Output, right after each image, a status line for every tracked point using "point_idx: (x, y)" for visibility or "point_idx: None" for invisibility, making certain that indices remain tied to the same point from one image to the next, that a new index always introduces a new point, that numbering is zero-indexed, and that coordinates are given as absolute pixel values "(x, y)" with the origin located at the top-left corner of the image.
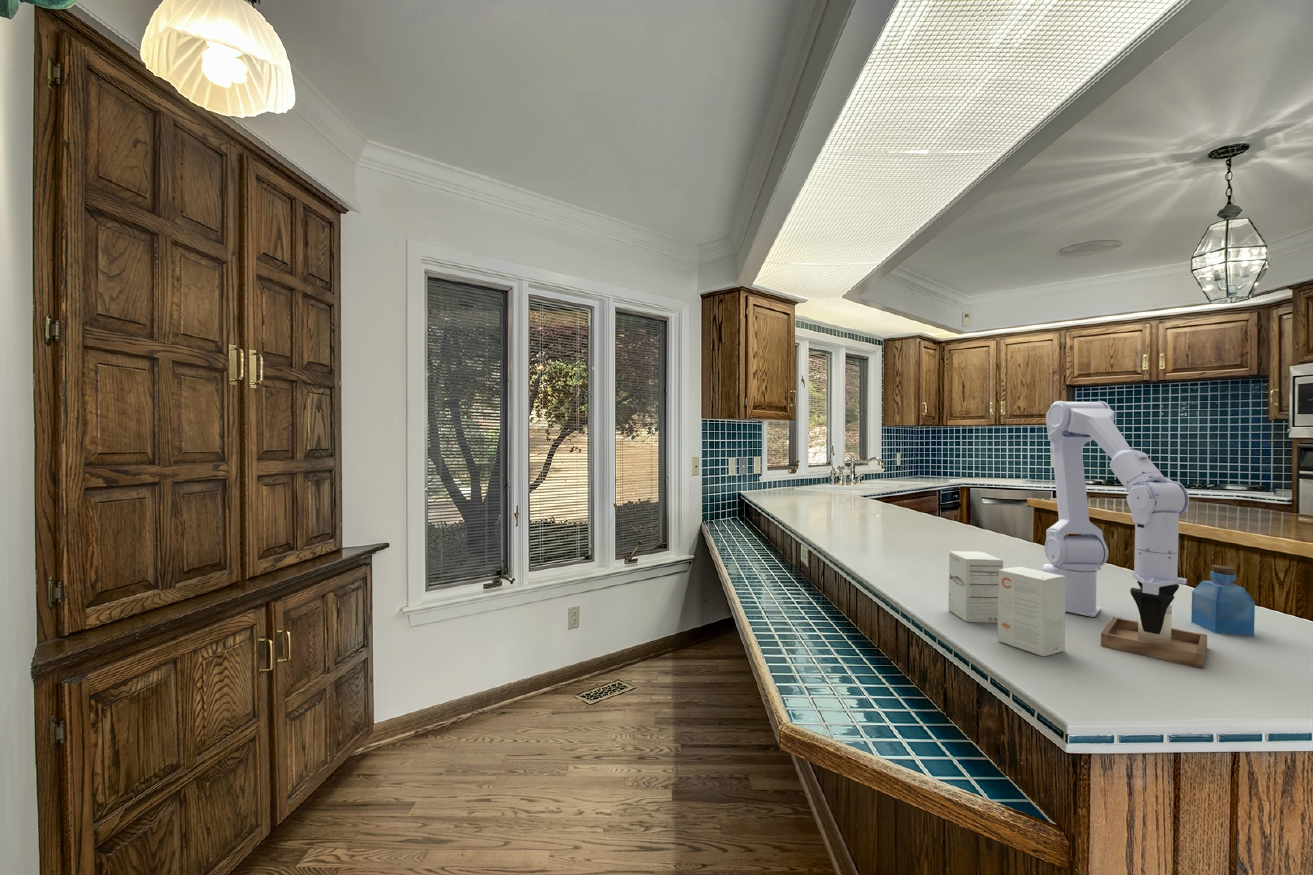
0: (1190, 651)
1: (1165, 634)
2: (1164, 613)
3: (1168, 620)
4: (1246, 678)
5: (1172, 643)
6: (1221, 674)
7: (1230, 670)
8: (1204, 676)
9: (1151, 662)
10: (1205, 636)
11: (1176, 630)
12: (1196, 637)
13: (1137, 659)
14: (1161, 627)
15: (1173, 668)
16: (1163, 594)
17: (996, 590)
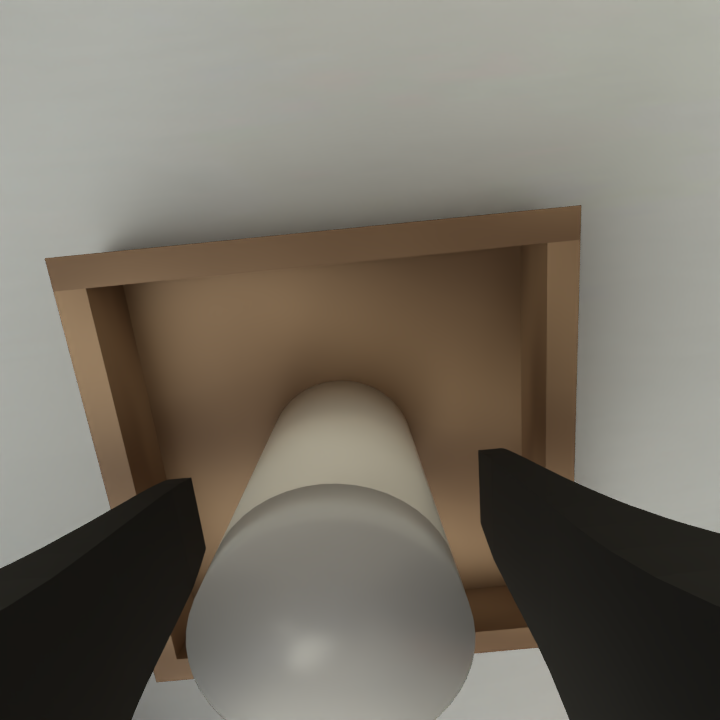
0: (565, 270)
1: (395, 426)
2: (658, 516)
3: (386, 461)
4: (541, 24)
5: (252, 388)
6: (570, 133)
7: (456, 107)
8: (672, 190)
9: (628, 399)
10: (101, 260)
11: (116, 407)
12: (105, 306)
13: (629, 448)
14: (528, 461)
15: (649, 315)
16: (17, 705)
17: None
